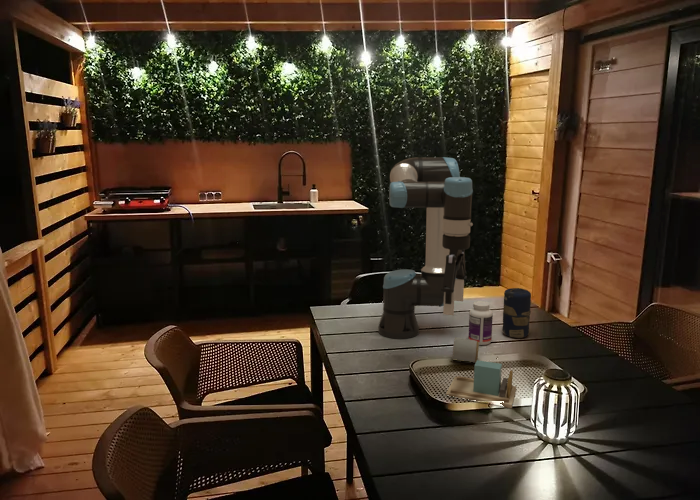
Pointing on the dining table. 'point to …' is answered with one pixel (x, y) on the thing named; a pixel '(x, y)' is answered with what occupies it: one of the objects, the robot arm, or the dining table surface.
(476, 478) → the dining table surface
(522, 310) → the canister
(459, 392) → the wooden tray
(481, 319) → the pill bottle
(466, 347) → the grey rectangular block
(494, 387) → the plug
